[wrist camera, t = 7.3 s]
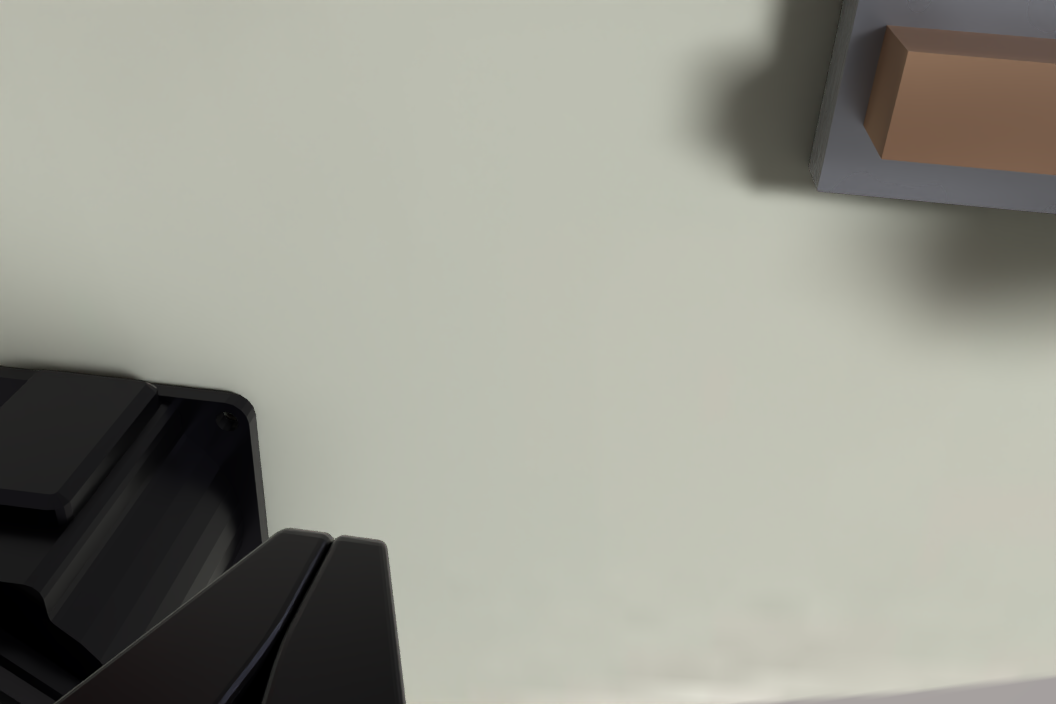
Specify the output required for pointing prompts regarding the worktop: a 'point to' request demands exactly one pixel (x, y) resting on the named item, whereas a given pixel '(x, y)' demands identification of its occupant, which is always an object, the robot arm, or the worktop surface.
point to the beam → (965, 100)
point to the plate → (841, 140)
